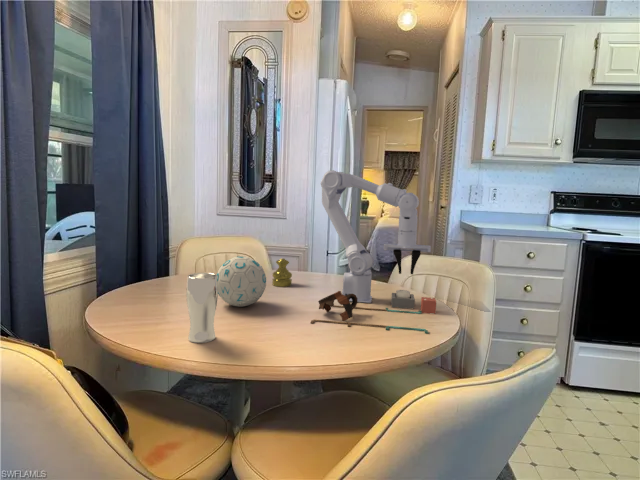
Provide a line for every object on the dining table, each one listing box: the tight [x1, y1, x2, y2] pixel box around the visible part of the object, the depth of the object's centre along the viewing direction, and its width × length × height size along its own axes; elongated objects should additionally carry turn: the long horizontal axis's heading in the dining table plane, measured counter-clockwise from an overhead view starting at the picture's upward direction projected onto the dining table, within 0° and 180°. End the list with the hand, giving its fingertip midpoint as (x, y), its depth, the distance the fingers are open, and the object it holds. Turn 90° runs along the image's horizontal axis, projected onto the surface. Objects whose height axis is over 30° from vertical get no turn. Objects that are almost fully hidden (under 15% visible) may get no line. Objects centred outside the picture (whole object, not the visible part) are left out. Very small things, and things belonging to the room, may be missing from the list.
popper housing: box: [390, 292, 416, 310], centre depth 131 cm, size 7×7×3 cm
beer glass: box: [185, 272, 219, 344], centre depth 95 cm, size 7×7×15 cm
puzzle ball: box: [216, 255, 267, 308], centre depth 123 cm, size 15×15×15 cm
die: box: [420, 296, 437, 315], centre depth 125 cm, size 4×4×4 cm
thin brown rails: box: [310, 304, 429, 335], centre depth 117 cm, size 31×21×1 cm
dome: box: [395, 289, 411, 298], centre depth 131 cm, size 4×4×3 cm
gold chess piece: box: [271, 258, 293, 288], centre depth 153 cm, size 7×7×10 cm
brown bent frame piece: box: [317, 290, 358, 322], centre depth 118 cm, size 12×10×8 cm
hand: (405, 273), depth 130 cm, fingers open, 3 cm apart
